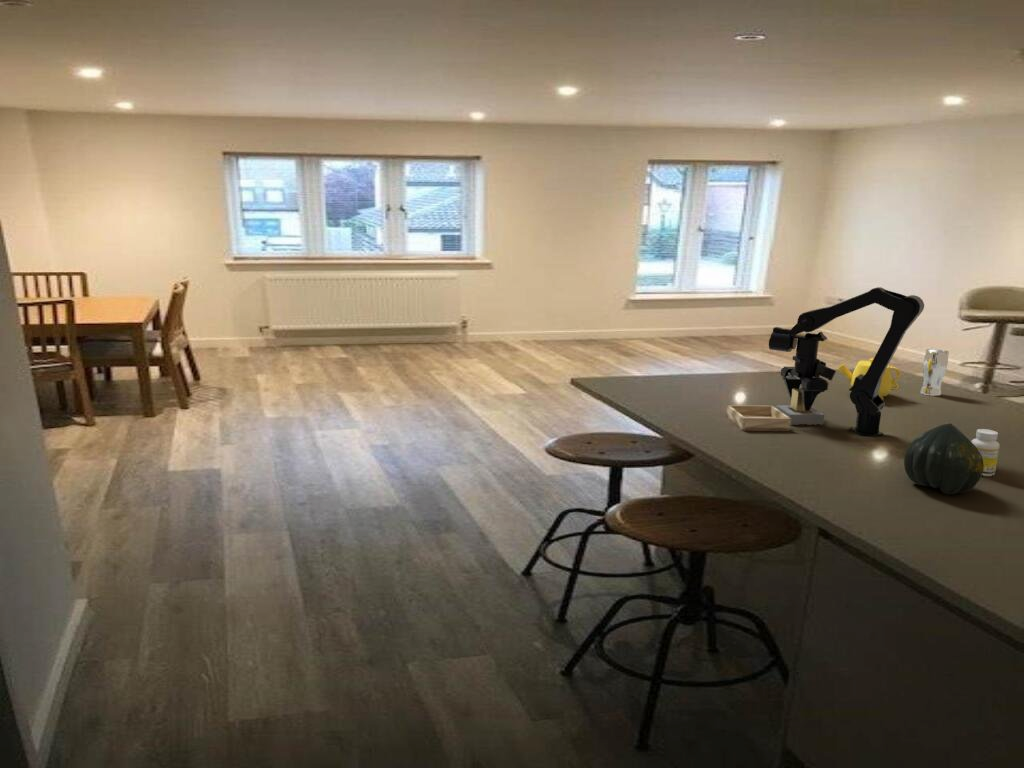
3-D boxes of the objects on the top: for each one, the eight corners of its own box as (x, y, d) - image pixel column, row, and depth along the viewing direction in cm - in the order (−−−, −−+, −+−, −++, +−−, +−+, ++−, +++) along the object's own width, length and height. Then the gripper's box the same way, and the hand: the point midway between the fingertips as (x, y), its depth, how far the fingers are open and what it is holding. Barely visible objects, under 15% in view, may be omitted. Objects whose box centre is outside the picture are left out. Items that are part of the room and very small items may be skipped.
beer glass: (914, 392, 244) (921, 349, 240) (927, 390, 247) (934, 348, 243) (933, 397, 238) (940, 353, 234) (946, 395, 240) (954, 352, 237)
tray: (790, 430, 198) (791, 418, 197) (742, 430, 197) (743, 418, 196) (770, 416, 211) (772, 405, 210) (725, 416, 210) (726, 405, 210)
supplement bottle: (967, 466, 172) (975, 426, 169) (995, 472, 168) (1003, 431, 166) (964, 472, 167) (971, 431, 165) (992, 478, 164) (1000, 436, 162)
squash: (933, 479, 148) (979, 424, 148) (879, 458, 162) (921, 408, 162) (968, 517, 152) (1011, 464, 153) (912, 493, 166) (952, 444, 167)
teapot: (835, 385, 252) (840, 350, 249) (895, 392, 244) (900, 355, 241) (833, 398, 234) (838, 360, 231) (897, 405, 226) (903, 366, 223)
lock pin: (808, 421, 207) (811, 392, 205) (794, 421, 207) (798, 391, 204) (802, 417, 211) (805, 388, 208) (789, 417, 210) (792, 388, 208)
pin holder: (823, 424, 204) (824, 414, 203) (789, 424, 204) (790, 414, 203) (807, 415, 214) (808, 405, 213) (775, 414, 213) (776, 405, 212)
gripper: (850, 361, 195) (842, 415, 199) (819, 348, 213) (812, 398, 217) (810, 361, 195) (803, 415, 198) (782, 348, 213) (777, 398, 217)
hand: (800, 406), depth 208 cm, fingers open, 9 cm apart
